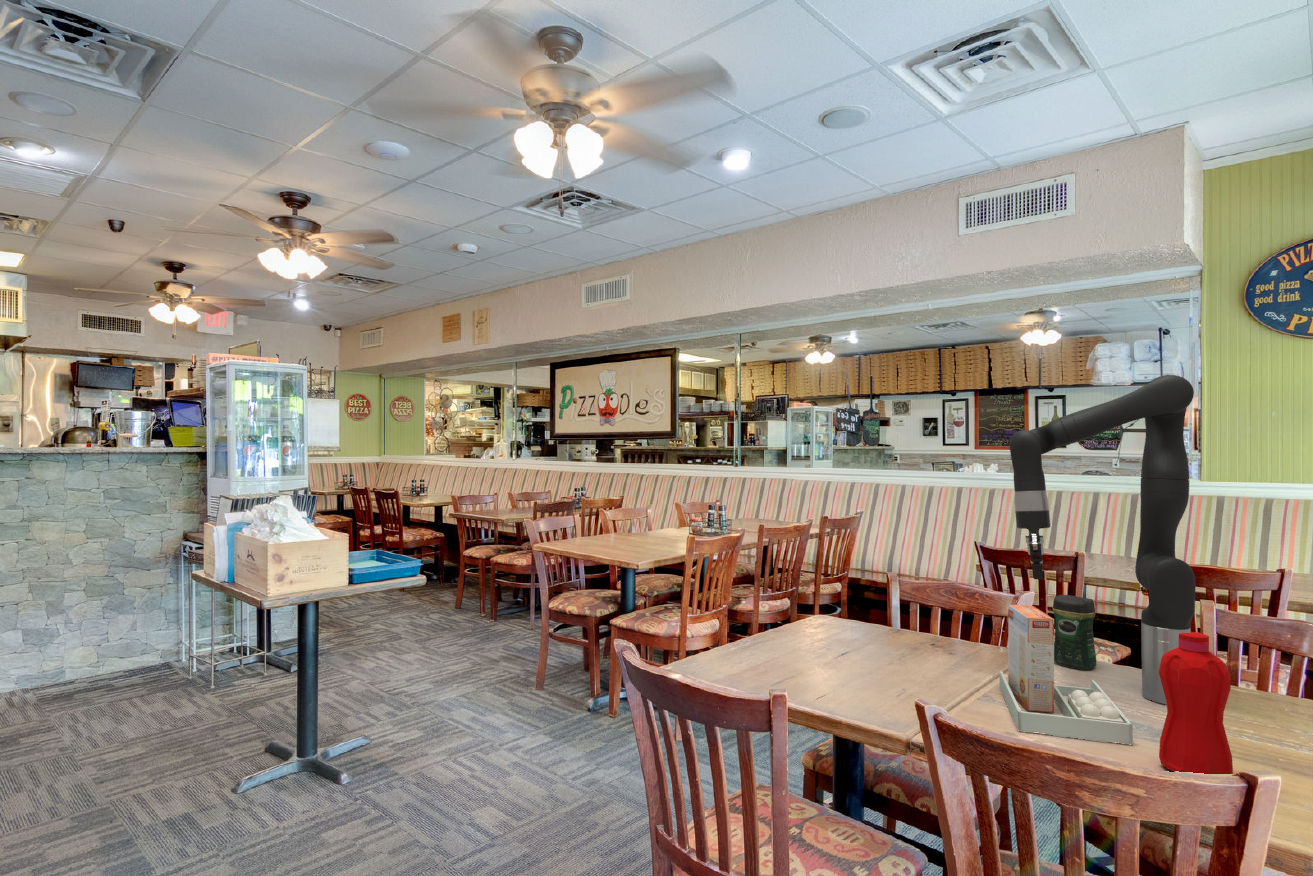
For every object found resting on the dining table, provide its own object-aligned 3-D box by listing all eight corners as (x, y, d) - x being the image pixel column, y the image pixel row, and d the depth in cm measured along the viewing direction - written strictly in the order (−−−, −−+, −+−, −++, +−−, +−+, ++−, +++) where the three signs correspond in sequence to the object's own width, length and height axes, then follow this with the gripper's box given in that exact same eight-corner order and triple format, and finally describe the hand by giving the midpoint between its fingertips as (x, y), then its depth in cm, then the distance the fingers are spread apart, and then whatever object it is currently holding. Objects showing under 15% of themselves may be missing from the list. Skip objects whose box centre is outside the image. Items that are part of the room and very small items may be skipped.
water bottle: (1186, 756, 131) (1184, 623, 131) (1243, 783, 120) (1241, 638, 120) (1142, 759, 129) (1141, 625, 130) (1196, 787, 118) (1194, 640, 119)
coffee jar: (1101, 667, 184) (1100, 597, 184) (1087, 673, 179) (1086, 601, 180) (1062, 658, 192) (1062, 591, 192) (1048, 663, 187) (1047, 594, 188)
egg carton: (1104, 718, 150) (1104, 689, 150) (1124, 744, 136) (1123, 712, 136) (1067, 714, 152) (1067, 685, 152) (1083, 739, 139) (1082, 707, 139)
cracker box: (1056, 714, 151) (1055, 618, 152) (1026, 712, 152) (1025, 617, 153) (1034, 692, 165) (1034, 604, 165) (1007, 690, 166) (1006, 603, 167)
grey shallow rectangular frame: (1094, 697, 162) (1094, 680, 162) (1132, 745, 135) (1132, 725, 135) (999, 687, 168) (999, 671, 168) (1018, 731, 142) (1018, 712, 142)
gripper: (1049, 509, 166) (1056, 582, 164) (1048, 508, 178) (1054, 577, 176) (1014, 510, 170) (1020, 581, 168) (1015, 509, 182) (1021, 576, 180)
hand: (1038, 579), depth 172 cm, fingers closed
